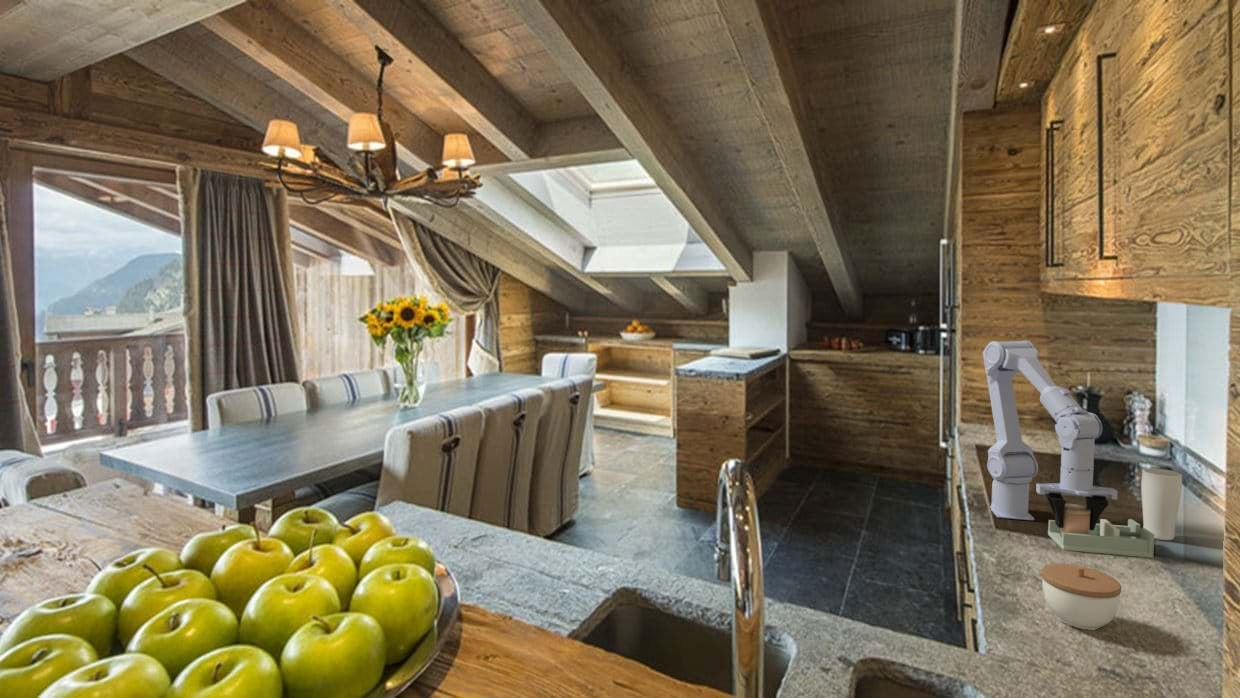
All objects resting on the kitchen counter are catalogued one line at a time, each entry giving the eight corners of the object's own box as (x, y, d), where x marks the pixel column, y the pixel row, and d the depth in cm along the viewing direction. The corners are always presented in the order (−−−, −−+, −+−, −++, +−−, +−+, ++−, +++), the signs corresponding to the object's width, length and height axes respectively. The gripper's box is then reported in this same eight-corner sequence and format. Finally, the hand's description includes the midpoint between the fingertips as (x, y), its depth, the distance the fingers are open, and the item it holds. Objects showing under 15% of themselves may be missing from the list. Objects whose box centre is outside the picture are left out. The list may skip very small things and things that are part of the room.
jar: (1055, 531, 136) (1056, 502, 136) (1082, 534, 135) (1084, 504, 134) (1065, 541, 131) (1066, 511, 131) (1094, 543, 130) (1095, 513, 129)
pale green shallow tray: (1047, 534, 139) (1048, 513, 138) (1131, 541, 134) (1132, 519, 133) (1063, 549, 130) (1064, 527, 130) (1153, 557, 125) (1154, 534, 125)
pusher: (1099, 534, 134) (1100, 518, 134) (1142, 538, 132) (1143, 522, 132) (1113, 546, 128) (1114, 529, 128) (1158, 550, 126) (1159, 533, 126)
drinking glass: (1180, 545, 131) (1184, 478, 130) (1140, 538, 135) (1143, 473, 134) (1176, 535, 137) (1180, 471, 135) (1137, 528, 141) (1140, 466, 139)
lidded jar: (1042, 598, 109) (1044, 549, 109) (1118, 617, 103) (1121, 564, 102) (1037, 624, 101) (1039, 570, 100) (1119, 646, 94) (1122, 588, 94)
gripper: (1045, 470, 130) (1043, 530, 131) (1125, 474, 126) (1122, 537, 127) (1033, 462, 137) (1031, 519, 138) (1109, 466, 133) (1107, 525, 134)
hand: (1074, 527), depth 133 cm, fingers closed on jar, 5 cm apart
